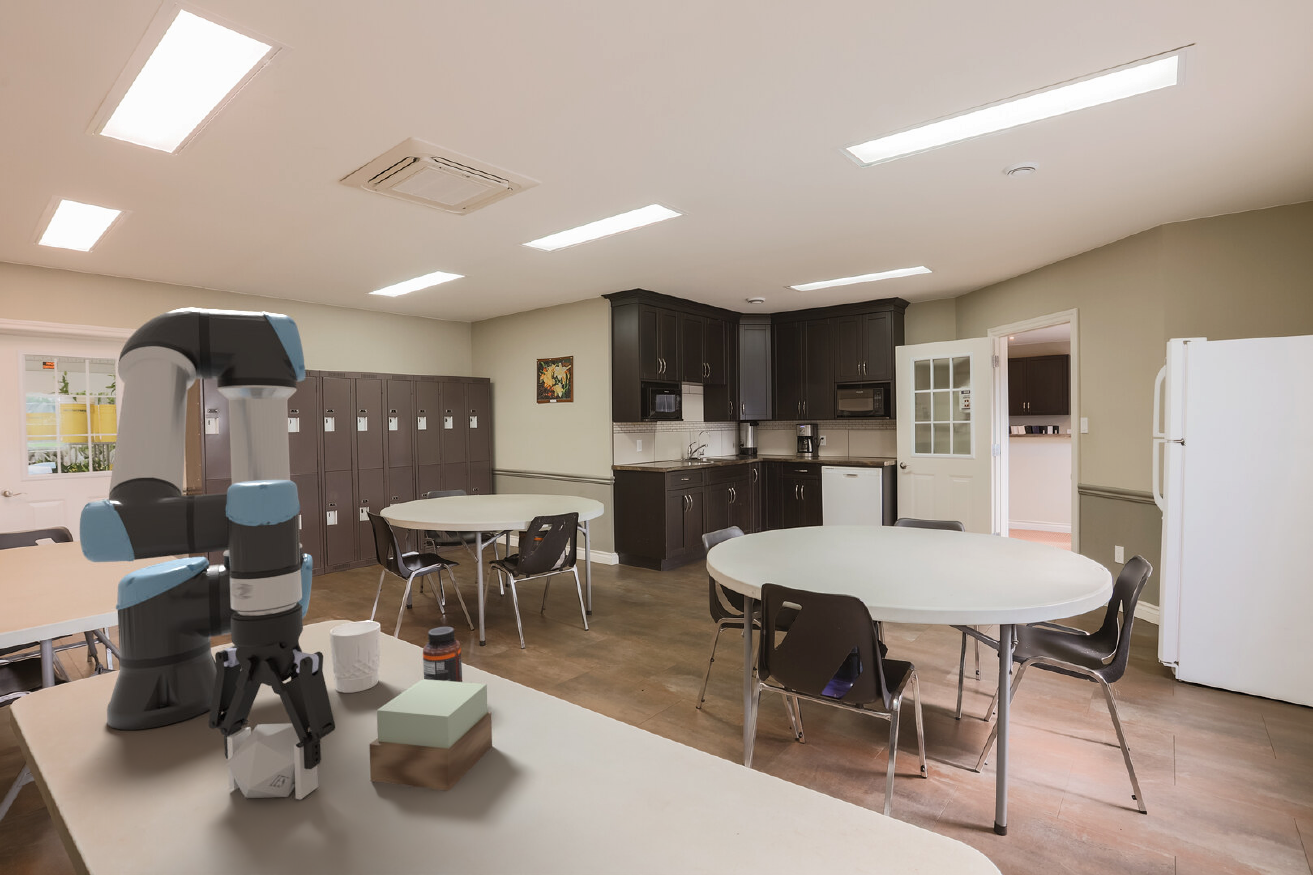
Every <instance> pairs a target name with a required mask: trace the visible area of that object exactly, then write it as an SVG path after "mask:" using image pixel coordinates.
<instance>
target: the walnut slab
mask: <svg viewBox="0 0 1313 875" xmlns="http://www.w3.org/2000/svg"><path fill="white" fill-rule="evenodd" d="M492 721H493V720H492V712H488V713H487V714H485V715H484V716H483V717H482V718H481V719H480V720H479V721H478V722H477V723H476V724H475V725H474V726H473V727H471V728H470V729H469V730H468V731H467V732H466V733H465V734H464V735H463V736H462V737H461V738H460V739H459V740H457V741H456V742H455V743H454V744H453V745H452V746H451V747H450V748H439V747H429V746H419V745H410V744H400V743H390V742H380V741H378V737H377V738H375V739H374V740H373V741H371V742H370V743H369V768H370V769H369V770H370V771H369V772H370V781H371V782H379V783H387V784H395V785H401V786H402V785H403V786H410V787H417V788H426V789H433V790H440V791H450V790H452V788H453V787H454V786H455V785H456V784H457V783H458V782H459V781H460V780H461V779H462V778H463V777H464V776H465V775H466V774H467V773H468V772H469V771H470V770H471V768H473V767H474V766H475V764H477V763H478V762H479V760H481V758H482V757H483V756H484V755H485V754H486V753H488V751H489V750H491V748H492V747H493V730H492V729H493V727H492Z"/></svg>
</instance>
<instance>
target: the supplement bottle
mask: <svg viewBox="0 0 1313 875" xmlns="http://www.w3.org/2000/svg"><path fill="white" fill-rule="evenodd" d="M422 660H423V661H422V663H423V664H422V665H423V667H422V668H423V679H427V680H440V681H453V682H463V667H462V666H463V665H462V664H463V663H462V647H461V643H460V641H459V640H457V639H456V638H455V629H454V628H453V627H451V626H439V627H435V628H432V629H430V630H428V642H427V643H426V644H425V645H424V647H423V650H422Z"/></svg>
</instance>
